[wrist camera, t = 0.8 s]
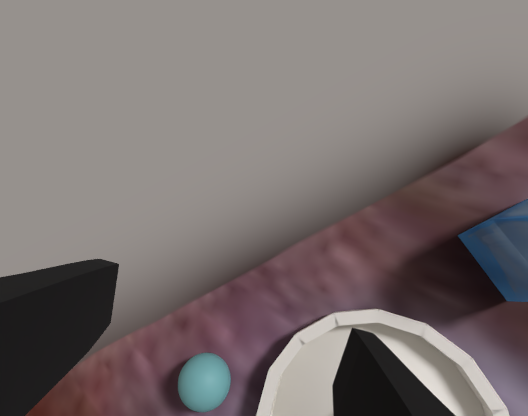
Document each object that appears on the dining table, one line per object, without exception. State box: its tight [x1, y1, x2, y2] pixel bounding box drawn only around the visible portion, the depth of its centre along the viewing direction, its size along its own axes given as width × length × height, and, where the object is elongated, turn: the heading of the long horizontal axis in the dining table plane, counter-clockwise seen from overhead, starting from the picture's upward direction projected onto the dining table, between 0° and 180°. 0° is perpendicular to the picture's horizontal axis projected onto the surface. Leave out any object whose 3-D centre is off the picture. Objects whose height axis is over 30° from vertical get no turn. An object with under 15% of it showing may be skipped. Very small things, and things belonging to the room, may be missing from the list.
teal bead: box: [178, 353, 231, 412], centre depth 26 cm, size 4×4×4 cm
